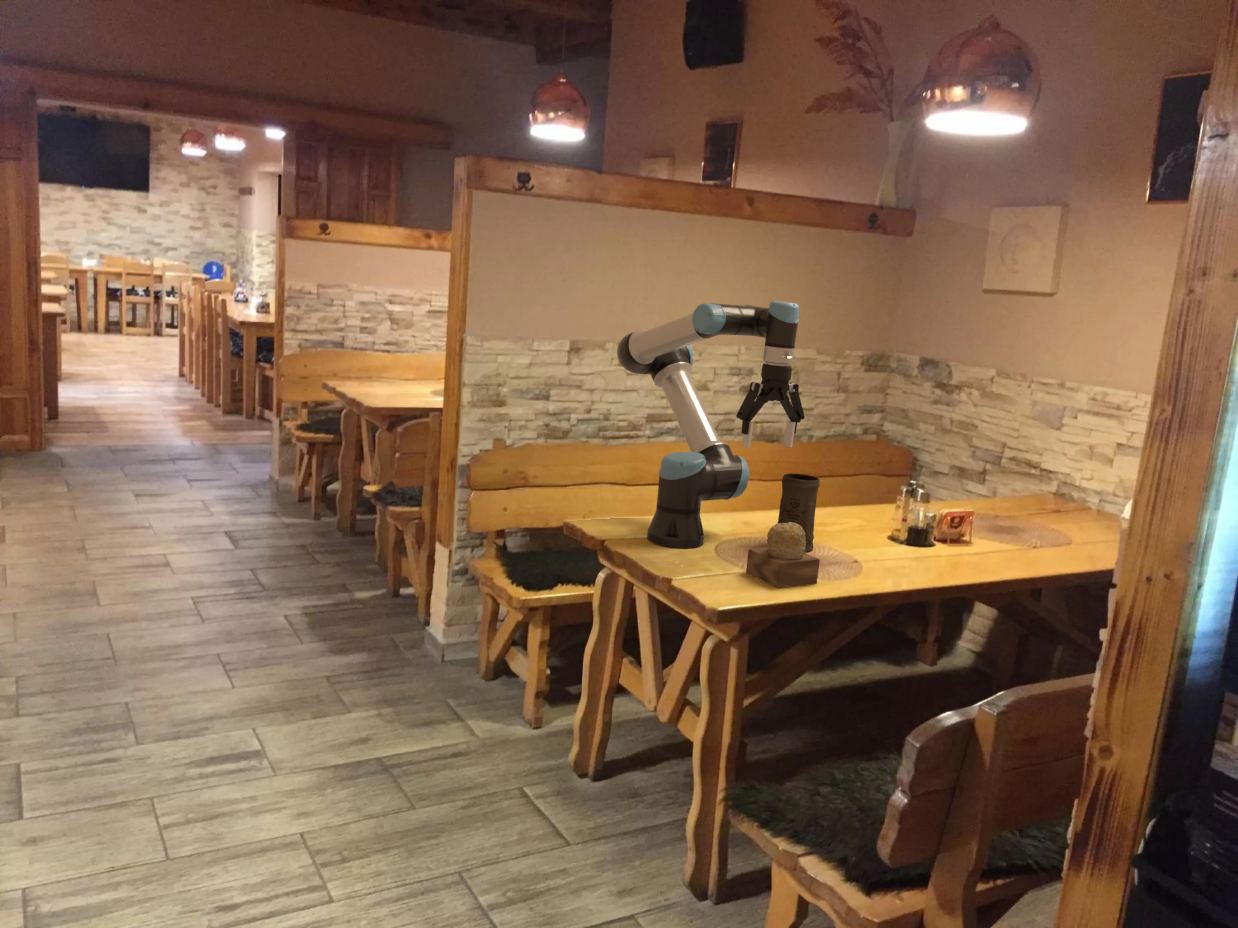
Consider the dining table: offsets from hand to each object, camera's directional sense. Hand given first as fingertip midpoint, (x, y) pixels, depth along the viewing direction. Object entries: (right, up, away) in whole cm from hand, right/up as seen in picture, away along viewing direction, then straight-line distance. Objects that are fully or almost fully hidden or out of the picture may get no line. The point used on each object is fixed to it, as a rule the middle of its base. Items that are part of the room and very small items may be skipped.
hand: (767, 446), depth 249 cm
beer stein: (+10, -27, +17) cm, 33 cm away
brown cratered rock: (+2, -26, -16) cm, 30 cm away
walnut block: (+1, -32, -15) cm, 35 cm away
